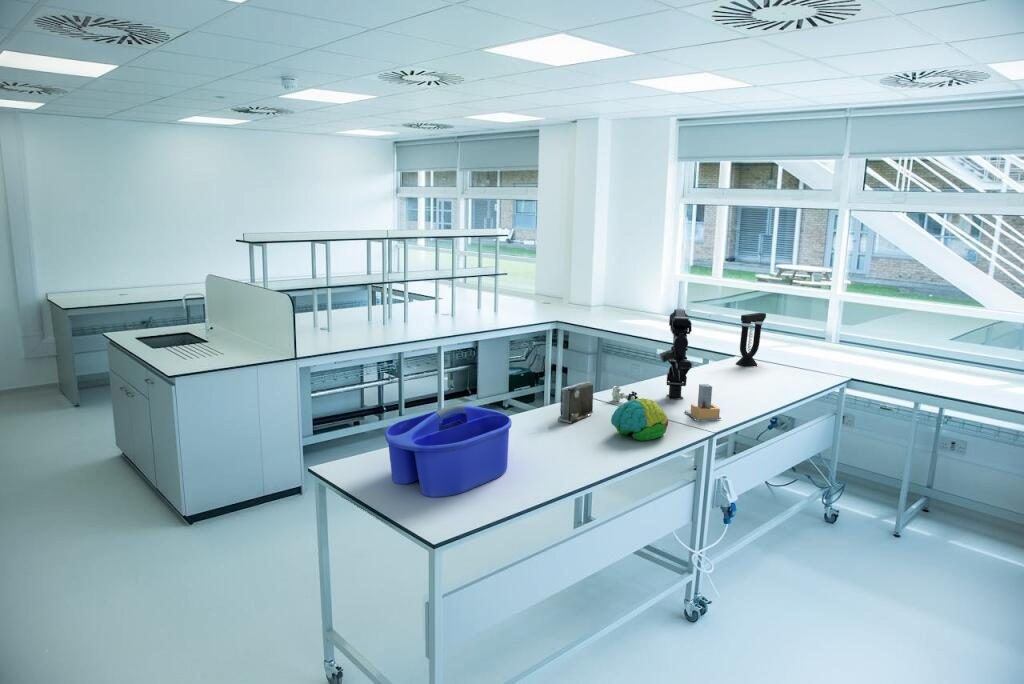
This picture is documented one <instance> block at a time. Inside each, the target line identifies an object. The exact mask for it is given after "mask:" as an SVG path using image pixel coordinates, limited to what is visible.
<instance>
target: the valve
mask: <svg viewBox="0 0 1024 684" xmlns="http://www.w3.org/2000/svg"><path fill="white" fill-rule="evenodd" d="M621 388H622V387H621V386H618V385H617V386H616V385H615V386H613V387H612V392H611V396H612V398H611V399H612V400H613V401H612V402H614V401H620V402H621V400H623V399H626V400H627V401H630V400H635V399H637V398H638V397H639V396H637V395H638V393H637V392H636V391H634V390H633V391H631V392H630V393H628V394H625V393H624V392H621V390H622V389H621ZM638 399H639V398H638Z"/></svg>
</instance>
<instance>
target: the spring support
mask: <svg viewBox="0 0 1024 684" xmlns="http://www.w3.org/2000/svg"><path fill="white" fill-rule="evenodd" d="M766 318H767V313H766V312H754V313H747V314H741V316H740V321H741V332H740V333H741V334H740V341H739V352H740V354H741V358H740V359H739V360H737V361H736V363H735V364H736V365H738V366H741V365H742V366H741V367H746V366H757V365H758V363H757V361H756V360H755V359H754V356H755V355H756V354H757V352H758V351H759V346H760V341H761V333H762V332H761V331H762V326H763V323H764V321H765V319H766ZM753 325H754V326H753ZM757 367H758V366H757Z"/></svg>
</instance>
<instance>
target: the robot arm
mask: <svg viewBox="0 0 1024 684" xmlns="http://www.w3.org/2000/svg"><path fill="white" fill-rule="evenodd" d="M668 326H670V329H669V330H670V332H671V334H672V338H673V339H672V342H673V343H672V346H671V347H670V350H666V351H663V352H660V353H659V358H660V360H661V361H662V362H663V363H666V362H668V363H669V364H670V367H669V368H668V372H667V374H666V386H668V394H667V393H666V395H667V396H668V397H669V398H670V400H683V399H684V397H683V396H682V390H683V389H682V387H685V386H687V382H688V381H687V379H688V376H687V375H688V372H689V371H690V370H691V369H692V368H693V363H692V362H691V361H690V360H689V359H688V357H687V352H688V350H689V349H688V346H689V345H688V344H689V341H688V335H691V333H692V328H693V327H692V326H693V325H692V321H691V319H690V318H689V315H688V314H687V313H686V309H682V308H681V309H680V308H675V309H674V310H673V312H672V313H671V314H670V315H669V320H668ZM667 396H666V397H667ZM669 398H668V399H669Z"/></svg>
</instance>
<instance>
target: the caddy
mask: <svg viewBox="0 0 1024 684" xmlns="http://www.w3.org/2000/svg"><path fill="white" fill-rule="evenodd" d="M512 423H513V422H512V419H511V417H510V416H508V415H507V414H506V413H504V412H501V411H498V410H494V409H490V408H484V407H480V406H473V405H468V404H452V405H451V404H450V405H448V406H444V407H442V408H441V409H439V410H435V411H431V412H428V413H426V414H423V415H419V416H415V417H412V418H408V419H403V420H402V421H397V422H396V423H394V424H391V425H390V426H389V427H388V428H387V429H386V431H385V433H384V436H385V437H384V438H385V441H386V442H387V443H388V453H389V461H390V468H391V472H390V473H391V479H392V482H393V481H394V482H395V484H397V483H398V484H397V485H408V484H411V483H413V482H415V481H417V480H418V481H419V486H420V487H419V488H420V493H421V494H422V495H423V496H425V497H429V498H439V497H440V498H442V497H449V496H454V495H458V494H461V493H465V492H467V491H469V490H472V489H474V488H476V487H478V486H481V485H483V484H485V483H488V482H490V481H493V480H496V479H497V478H499V477H501V476H503V474H504V473H506V472H507V469H508V460H509V453H508V452H509V438H510V437H509V435H510V429H511V427H512ZM394 482H393V483H394Z"/></svg>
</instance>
